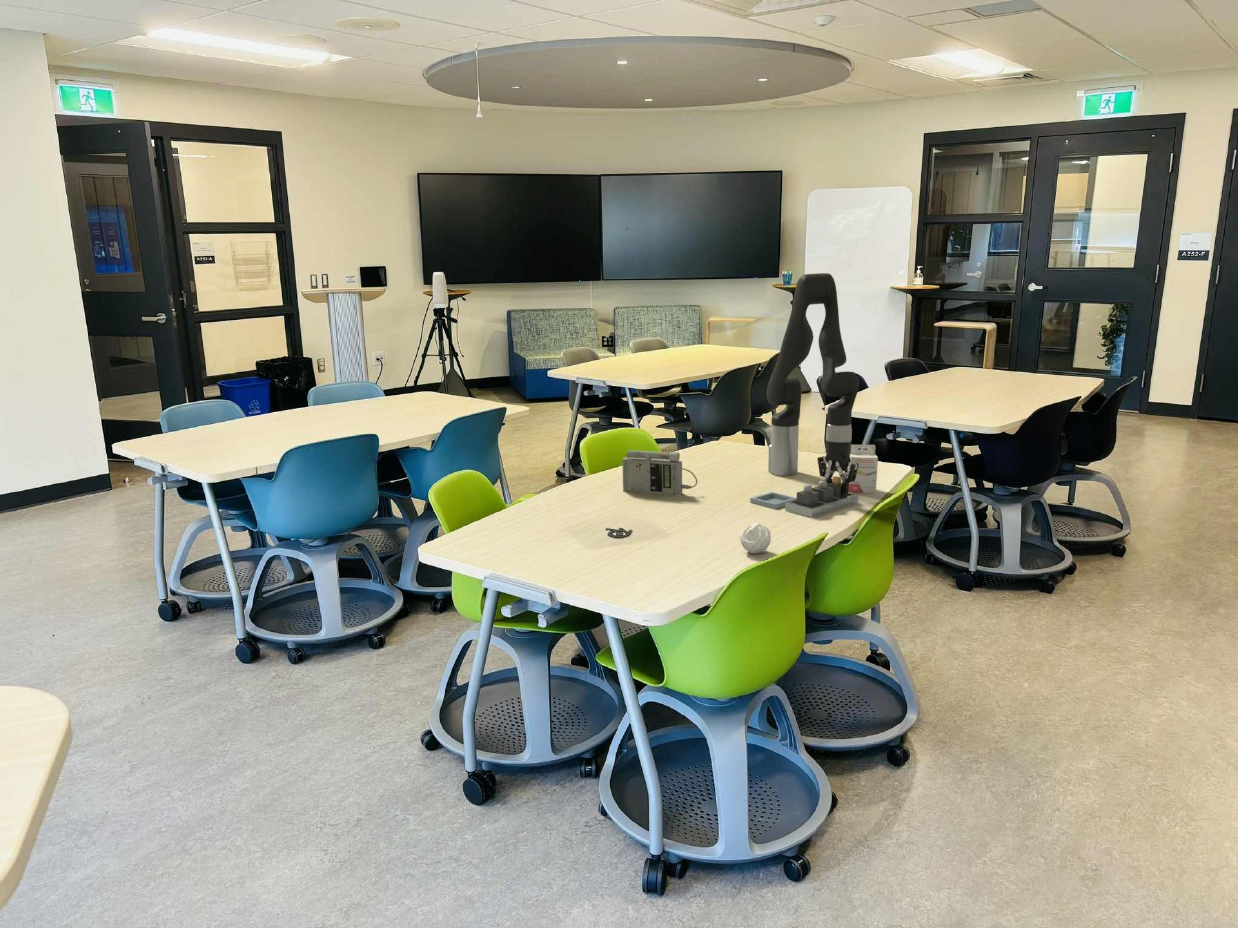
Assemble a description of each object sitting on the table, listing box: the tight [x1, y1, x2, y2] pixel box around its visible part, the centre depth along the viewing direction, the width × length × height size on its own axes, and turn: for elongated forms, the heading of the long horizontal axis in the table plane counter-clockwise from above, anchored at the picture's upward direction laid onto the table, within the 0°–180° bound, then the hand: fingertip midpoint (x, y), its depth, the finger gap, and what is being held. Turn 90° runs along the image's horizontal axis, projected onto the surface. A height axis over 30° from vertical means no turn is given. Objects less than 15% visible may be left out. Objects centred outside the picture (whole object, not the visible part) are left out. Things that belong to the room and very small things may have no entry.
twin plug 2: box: [812, 480, 833, 503], centre depth 271 cm, size 4×4×8 cm
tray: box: [749, 491, 797, 510], centre depth 278 cm, size 10×10×2 cm
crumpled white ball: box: [739, 522, 772, 554], centre depth 235 cm, size 8×8×8 cm
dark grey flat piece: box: [605, 527, 633, 539], centre depth 254 cm, size 9×8×1 cm
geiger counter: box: [621, 449, 698, 497], centre depth 292 cm, size 14×6×25 cm
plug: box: [827, 476, 847, 498], centre depth 276 cm, size 4×4×8 cm
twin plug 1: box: [796, 484, 819, 508], centre depth 267 cm, size 4×4×8 cm
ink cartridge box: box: [848, 444, 879, 494], centre depth 288 cm, size 9×5×15 cm, turn 84°
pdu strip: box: [784, 492, 859, 519], centre depth 272 cm, size 10×22×3 cm, turn 130°
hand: (836, 492), depth 276 cm, fingers open, 5 cm apart
